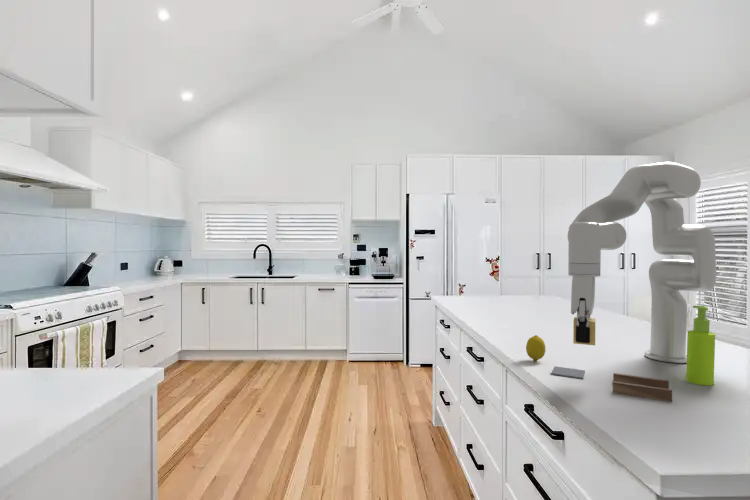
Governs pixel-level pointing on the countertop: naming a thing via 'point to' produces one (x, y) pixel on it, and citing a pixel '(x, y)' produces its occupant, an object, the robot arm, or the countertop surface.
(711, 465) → the countertop surface
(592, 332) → the ochre block
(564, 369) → the slate coaster
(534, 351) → the lemon
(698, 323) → the soap dispenser
